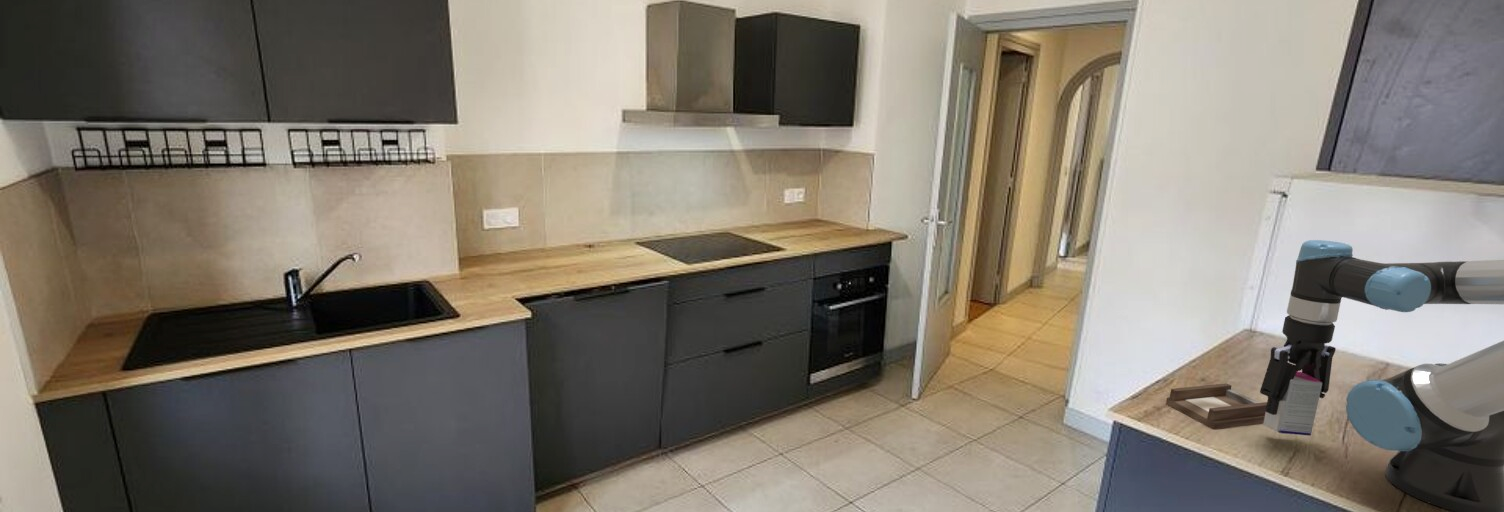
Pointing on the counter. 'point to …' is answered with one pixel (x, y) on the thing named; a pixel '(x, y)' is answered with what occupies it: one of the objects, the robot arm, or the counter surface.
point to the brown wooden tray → (1217, 406)
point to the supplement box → (1300, 405)
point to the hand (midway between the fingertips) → (1286, 426)
